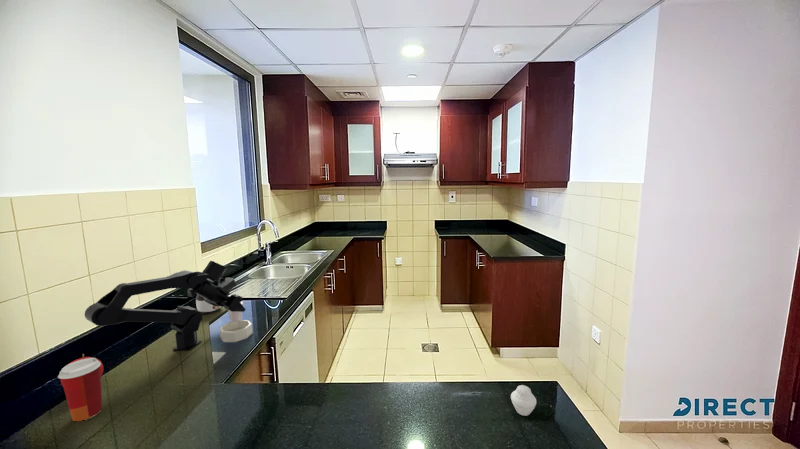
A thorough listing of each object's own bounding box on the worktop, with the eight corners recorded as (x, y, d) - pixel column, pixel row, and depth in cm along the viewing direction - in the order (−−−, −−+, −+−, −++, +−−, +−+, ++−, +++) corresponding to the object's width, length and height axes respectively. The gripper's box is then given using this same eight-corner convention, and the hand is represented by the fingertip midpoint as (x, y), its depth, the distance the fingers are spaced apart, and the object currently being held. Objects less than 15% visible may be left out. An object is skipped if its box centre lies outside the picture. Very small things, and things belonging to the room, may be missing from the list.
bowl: (242, 342, 119) (241, 332, 119) (215, 342, 120) (214, 332, 119) (256, 329, 130) (255, 320, 129) (231, 329, 130) (230, 320, 130)
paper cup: (104, 400, 88) (97, 353, 86) (110, 412, 83) (102, 363, 81) (64, 416, 82) (55, 366, 80) (67, 430, 77) (58, 378, 75)
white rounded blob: (534, 423, 77) (535, 397, 76) (508, 415, 80) (509, 389, 79) (537, 407, 82) (538, 383, 81) (512, 400, 85) (513, 376, 84)
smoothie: (238, 329, 130) (235, 297, 128) (224, 328, 131) (221, 296, 129) (248, 323, 136) (245, 291, 134) (235, 321, 137) (232, 291, 135)
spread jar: (201, 316, 143) (199, 292, 142) (192, 311, 150) (189, 287, 149) (228, 308, 153) (226, 285, 151) (218, 303, 160) (216, 281, 158)
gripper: (235, 276, 122) (262, 295, 133) (209, 270, 132) (237, 288, 143) (217, 302, 116) (247, 319, 127) (191, 294, 126) (221, 310, 137)
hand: (238, 308), depth 134 cm, fingers open, 9 cm apart
